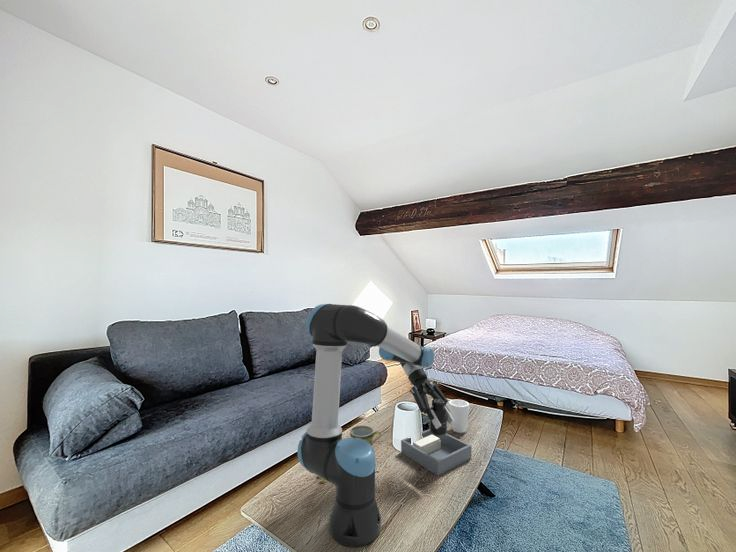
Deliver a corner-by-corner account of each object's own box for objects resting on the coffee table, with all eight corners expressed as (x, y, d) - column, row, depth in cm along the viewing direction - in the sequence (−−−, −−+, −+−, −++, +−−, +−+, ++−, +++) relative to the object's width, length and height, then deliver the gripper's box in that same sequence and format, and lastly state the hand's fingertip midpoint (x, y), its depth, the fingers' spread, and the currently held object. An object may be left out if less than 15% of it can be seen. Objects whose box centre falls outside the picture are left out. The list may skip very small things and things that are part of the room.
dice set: (323, 484, 113) (323, 479, 113) (315, 478, 117) (315, 473, 117) (334, 478, 116) (334, 473, 116) (326, 472, 120) (326, 467, 120)
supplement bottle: (447, 436, 120) (447, 404, 120) (429, 434, 122) (429, 403, 122) (446, 428, 127) (446, 398, 127) (429, 426, 128) (429, 397, 128)
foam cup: (447, 425, 159) (447, 399, 159) (466, 425, 158) (465, 399, 159) (451, 434, 149) (451, 406, 150) (471, 434, 149) (471, 406, 149)
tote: (437, 478, 115) (437, 462, 115) (401, 454, 131) (401, 440, 132) (471, 460, 127) (471, 445, 127) (434, 440, 143) (433, 427, 143)
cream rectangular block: (420, 457, 128) (420, 447, 128) (412, 451, 132) (412, 442, 132) (440, 448, 135) (440, 438, 135) (432, 443, 139) (432, 434, 139)
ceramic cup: (349, 461, 126) (349, 436, 127) (350, 448, 136) (350, 425, 137) (381, 461, 127) (381, 435, 127) (379, 448, 137) (379, 424, 137)
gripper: (426, 373, 143) (456, 422, 129) (393, 381, 131) (422, 436, 118) (435, 364, 139) (467, 413, 125) (402, 371, 127) (433, 427, 114)
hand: (445, 424), depth 121 cm, fingers closed on supplement bottle, 7 cm apart
